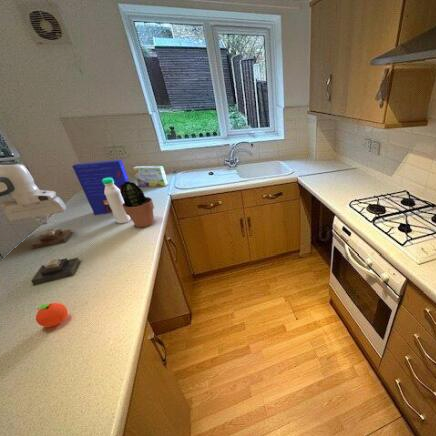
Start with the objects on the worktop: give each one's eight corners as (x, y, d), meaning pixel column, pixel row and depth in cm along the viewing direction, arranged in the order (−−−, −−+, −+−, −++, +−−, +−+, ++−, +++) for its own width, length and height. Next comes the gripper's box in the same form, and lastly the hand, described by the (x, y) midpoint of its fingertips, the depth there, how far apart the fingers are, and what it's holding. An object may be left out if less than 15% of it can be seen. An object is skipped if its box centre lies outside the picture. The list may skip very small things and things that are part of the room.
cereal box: (137, 205, 154) (121, 158, 140) (136, 208, 149) (118, 161, 135) (98, 211, 148) (76, 163, 134) (94, 215, 143) (72, 165, 129)
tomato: (33, 329, 73) (20, 313, 70) (57, 311, 79) (46, 295, 76) (55, 333, 72) (42, 317, 69) (77, 314, 78) (66, 298, 75)
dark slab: (33, 285, 91) (28, 277, 89) (44, 269, 99) (39, 261, 97) (73, 275, 95) (68, 267, 93) (80, 261, 103) (76, 254, 101)
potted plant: (163, 221, 134) (150, 178, 122) (139, 232, 124) (121, 187, 112) (150, 215, 140) (136, 174, 129) (126, 225, 130) (108, 182, 119)
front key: (46, 269, 93) (44, 266, 92) (50, 264, 96) (48, 260, 95) (58, 266, 94) (56, 263, 94) (61, 261, 97) (59, 258, 96)
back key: (44, 237, 115) (42, 233, 114) (47, 233, 118) (45, 230, 117) (53, 235, 116) (51, 232, 115) (56, 231, 119) (54, 228, 118)
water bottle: (117, 225, 131) (99, 181, 119) (115, 220, 136) (98, 178, 124) (132, 221, 135) (115, 178, 123) (130, 216, 140) (114, 175, 128)
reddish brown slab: (33, 248, 112) (29, 241, 110) (42, 238, 120) (38, 231, 119) (65, 242, 117) (61, 235, 115) (72, 232, 125) (68, 226, 123)
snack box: (138, 186, 185) (131, 167, 178) (142, 184, 190) (136, 165, 183) (165, 186, 184) (159, 167, 177) (168, 184, 189) (163, 165, 182)
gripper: (-7, 204, 101) (13, 232, 108) (54, 195, 109) (69, 221, 115) (2, 199, 106) (19, 226, 113) (59, 190, 114) (73, 216, 120)
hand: (45, 223), depth 114 cm, fingers closed
